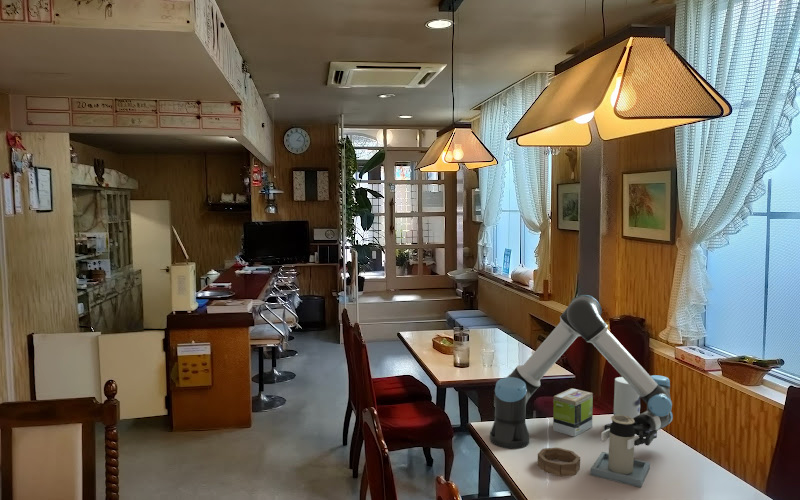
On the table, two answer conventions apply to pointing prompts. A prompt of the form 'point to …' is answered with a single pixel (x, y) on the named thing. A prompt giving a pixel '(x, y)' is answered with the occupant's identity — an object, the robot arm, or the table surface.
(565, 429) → the tea box
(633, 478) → the tray
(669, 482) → the table surface
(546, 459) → the mug holder
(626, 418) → the travel mug
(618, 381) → the container
